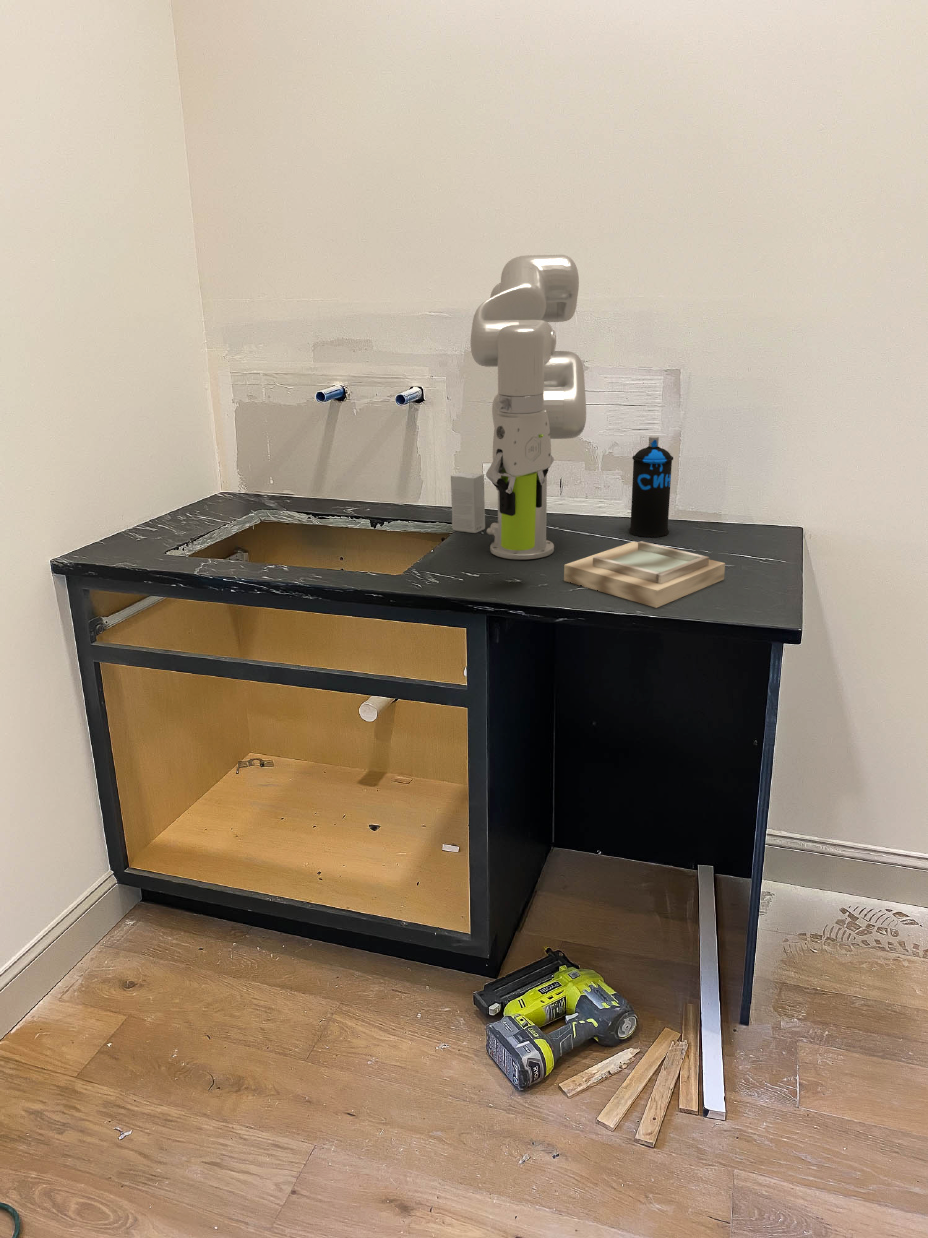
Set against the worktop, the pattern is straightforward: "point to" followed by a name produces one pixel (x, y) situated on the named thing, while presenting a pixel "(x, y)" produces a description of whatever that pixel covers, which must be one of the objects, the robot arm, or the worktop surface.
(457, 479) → the skincare box
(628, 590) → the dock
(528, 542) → the soap dispenser
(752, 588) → the worktop surface
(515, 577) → the worktop surface
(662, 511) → the aerosol can
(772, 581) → the worktop surface
